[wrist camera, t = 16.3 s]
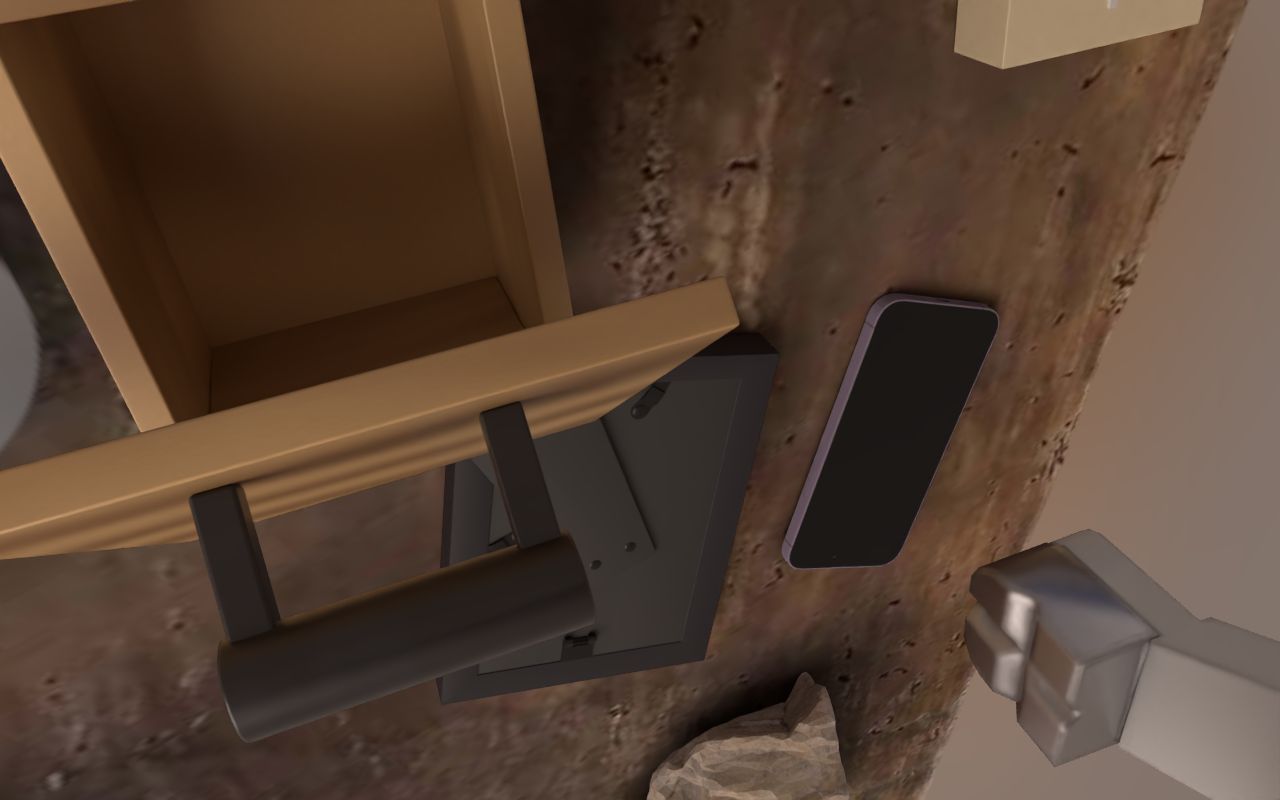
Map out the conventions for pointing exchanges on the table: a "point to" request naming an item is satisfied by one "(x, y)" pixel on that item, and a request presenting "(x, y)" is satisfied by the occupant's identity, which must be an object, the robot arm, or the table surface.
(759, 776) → the rock
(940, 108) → the table surface
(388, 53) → the chest
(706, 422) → the picture frame
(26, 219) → the table surface
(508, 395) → the chest lid
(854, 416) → the smartphone
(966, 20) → the plate
